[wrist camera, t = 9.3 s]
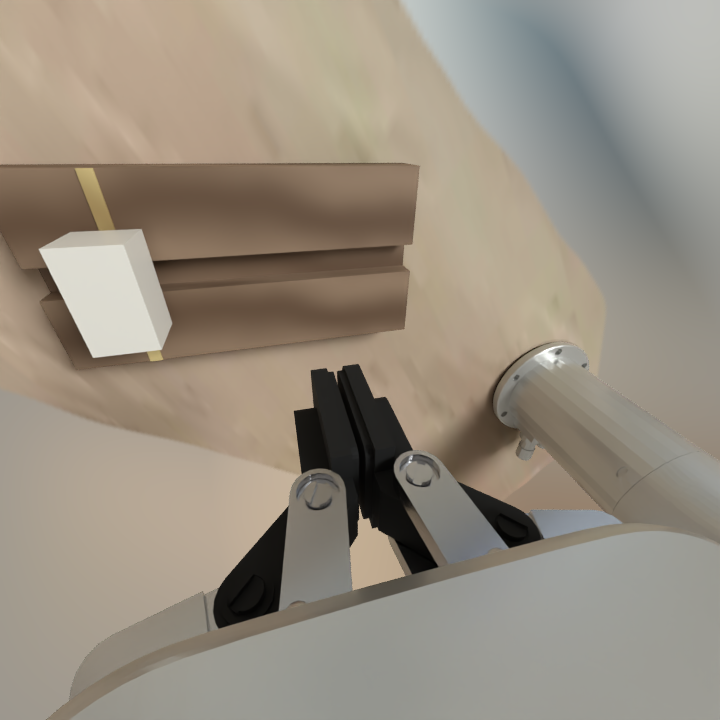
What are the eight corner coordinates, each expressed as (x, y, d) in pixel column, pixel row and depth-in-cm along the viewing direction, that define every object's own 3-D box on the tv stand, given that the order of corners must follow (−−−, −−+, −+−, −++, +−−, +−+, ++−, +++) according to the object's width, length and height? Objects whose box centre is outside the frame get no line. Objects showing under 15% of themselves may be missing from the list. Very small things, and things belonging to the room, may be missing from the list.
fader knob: (176, 311, 24) (161, 349, 20) (121, 317, 23) (93, 357, 19) (148, 222, 21) (123, 244, 16) (83, 225, 20) (38, 249, 16)
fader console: (392, 314, 31) (404, 329, 29) (92, 348, 26) (75, 370, 23) (402, 162, 24) (420, 166, 22) (1, 164, 19) (-35, 168, 16)
